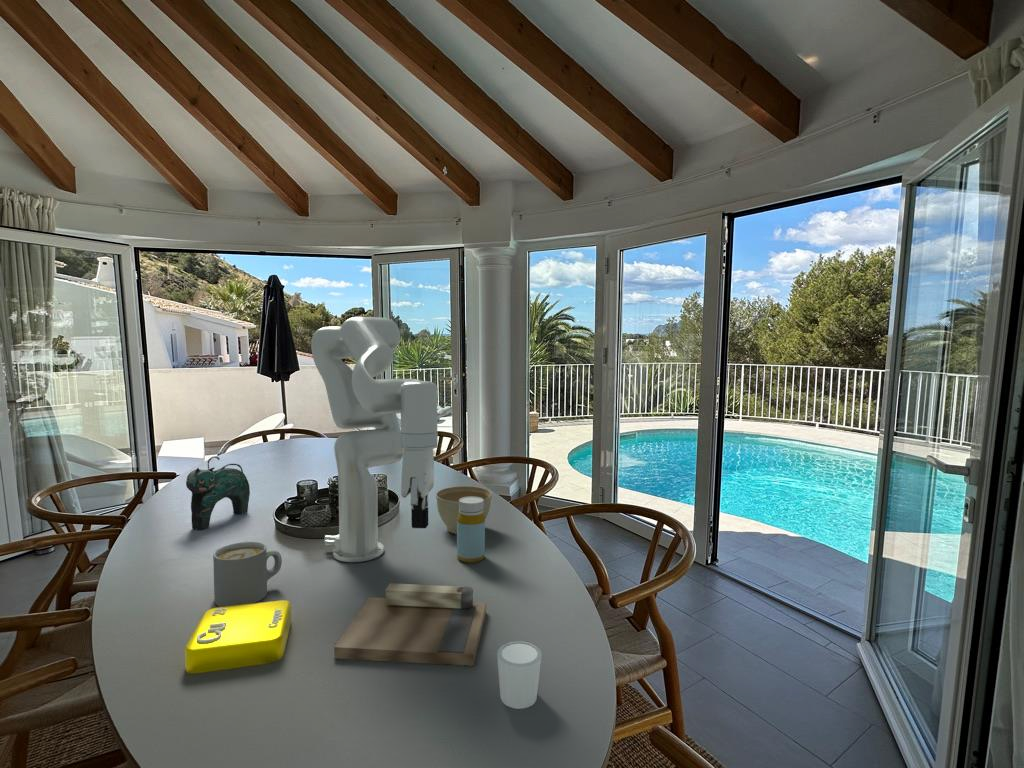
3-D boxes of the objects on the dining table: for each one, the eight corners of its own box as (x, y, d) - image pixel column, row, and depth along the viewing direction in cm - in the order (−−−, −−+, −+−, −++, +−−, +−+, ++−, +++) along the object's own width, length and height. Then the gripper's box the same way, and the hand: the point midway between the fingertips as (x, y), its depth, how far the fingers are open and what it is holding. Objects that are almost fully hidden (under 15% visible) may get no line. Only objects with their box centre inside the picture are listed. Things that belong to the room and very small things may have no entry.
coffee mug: (218, 612, 105) (217, 563, 105) (211, 593, 113) (210, 547, 113) (289, 594, 113) (288, 549, 113) (278, 578, 121) (277, 535, 121)
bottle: (480, 564, 130) (481, 504, 129) (453, 562, 132) (453, 502, 131) (487, 554, 137) (488, 497, 136) (461, 551, 139) (462, 495, 137)
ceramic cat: (198, 532, 149) (196, 462, 148) (181, 530, 151) (179, 460, 150) (253, 512, 168) (252, 449, 166) (237, 509, 170) (236, 448, 169)
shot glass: (495, 683, 85) (495, 641, 84) (537, 681, 85) (538, 639, 85) (497, 712, 78) (498, 667, 77) (544, 710, 79) (544, 665, 78)
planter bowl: (425, 534, 150) (425, 497, 149) (452, 518, 165) (452, 483, 164) (476, 543, 144) (476, 504, 143) (499, 525, 159) (500, 489, 158)
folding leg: (473, 601, 107) (474, 586, 106) (471, 609, 103) (471, 594, 103) (390, 597, 108) (390, 583, 108) (385, 605, 105) (385, 590, 104)
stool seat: (334, 658, 91) (334, 645, 91) (369, 606, 109) (369, 596, 109) (473, 666, 89) (473, 653, 89) (485, 612, 107) (486, 601, 107)
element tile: (282, 663, 90) (281, 636, 89) (181, 678, 86) (180, 649, 85) (292, 619, 104) (292, 595, 104) (206, 629, 100) (206, 605, 100)
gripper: (410, 434, 118) (411, 515, 119) (391, 446, 103) (392, 538, 104) (444, 435, 118) (444, 516, 119) (429, 446, 103) (429, 539, 104)
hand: (420, 526), depth 112 cm, fingers closed
